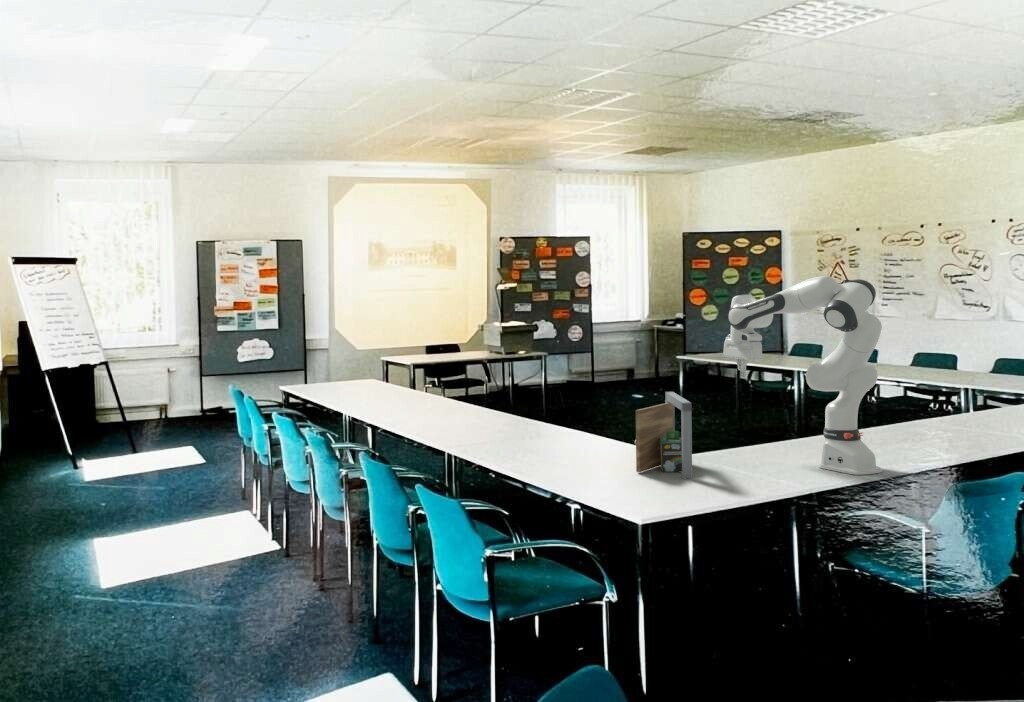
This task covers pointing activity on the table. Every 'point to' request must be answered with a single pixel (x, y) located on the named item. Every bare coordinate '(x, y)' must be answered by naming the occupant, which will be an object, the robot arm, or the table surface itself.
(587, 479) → the table surface
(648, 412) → the door
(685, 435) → the door frame
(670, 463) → the chalk box
